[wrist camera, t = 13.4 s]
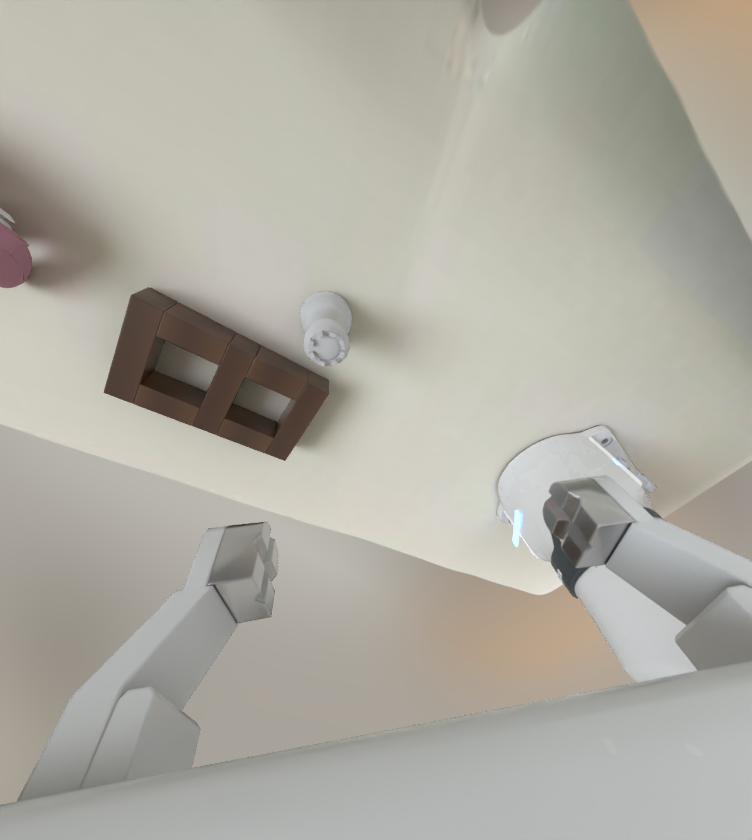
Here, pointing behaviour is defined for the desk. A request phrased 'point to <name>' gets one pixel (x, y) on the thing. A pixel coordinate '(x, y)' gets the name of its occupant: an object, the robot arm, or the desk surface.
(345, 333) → the rook chess piece
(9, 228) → the video game controller
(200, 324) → the stand
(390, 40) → the desk surface
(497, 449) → the desk surface
